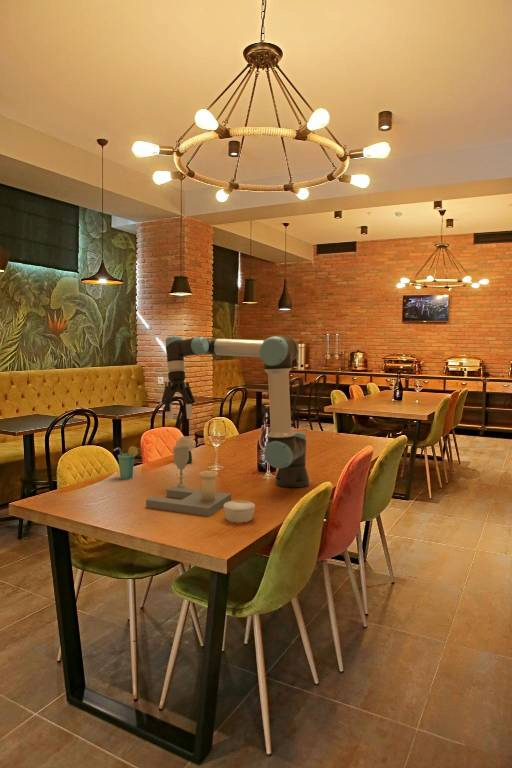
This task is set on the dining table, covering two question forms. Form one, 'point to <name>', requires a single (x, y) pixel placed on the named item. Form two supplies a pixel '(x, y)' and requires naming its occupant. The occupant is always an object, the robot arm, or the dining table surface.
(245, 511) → the ramekin
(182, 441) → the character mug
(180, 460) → the chalice
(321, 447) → the dining table surface
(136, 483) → the dining table surface
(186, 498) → the notched board
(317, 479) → the dining table surface
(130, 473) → the cup
